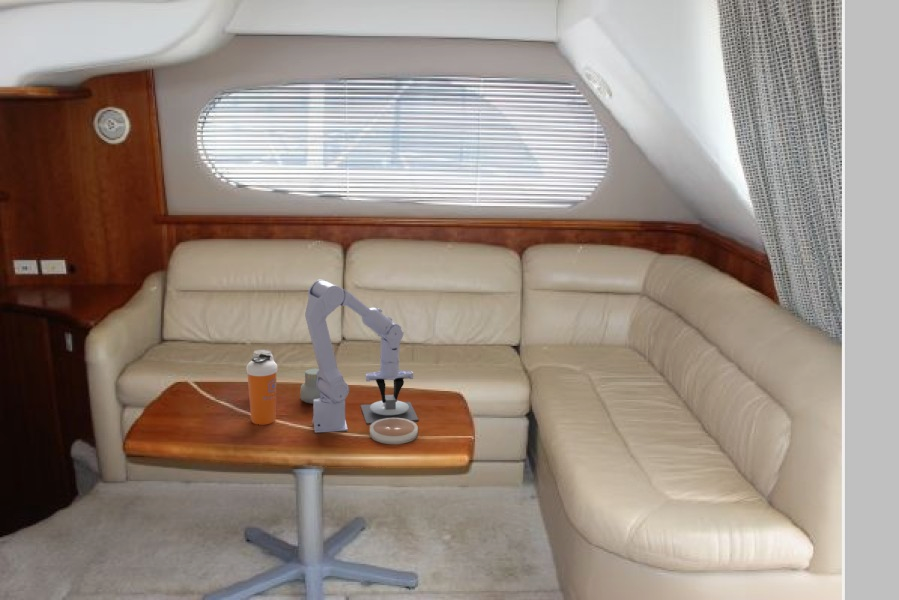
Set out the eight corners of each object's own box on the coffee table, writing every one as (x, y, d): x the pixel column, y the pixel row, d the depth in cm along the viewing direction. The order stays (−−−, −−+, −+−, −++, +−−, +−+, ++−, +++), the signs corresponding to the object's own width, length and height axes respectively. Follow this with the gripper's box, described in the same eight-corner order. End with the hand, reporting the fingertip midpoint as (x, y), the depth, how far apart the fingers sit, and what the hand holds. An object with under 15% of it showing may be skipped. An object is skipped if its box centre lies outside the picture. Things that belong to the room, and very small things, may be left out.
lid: (372, 416, 218) (372, 405, 218) (367, 403, 230) (367, 392, 229) (412, 413, 221) (412, 402, 221) (405, 400, 233) (405, 390, 232)
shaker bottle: (243, 424, 215) (240, 360, 210) (255, 412, 223) (253, 351, 218) (272, 427, 214) (270, 363, 209) (283, 415, 222) (281, 353, 217)
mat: (366, 424, 218) (366, 422, 218) (360, 406, 231) (360, 404, 231) (418, 420, 222) (418, 419, 222) (410, 403, 235) (410, 401, 235)
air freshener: (326, 407, 230) (325, 377, 227) (299, 407, 229) (299, 377, 226) (329, 394, 240) (328, 365, 238) (303, 394, 239) (303, 365, 237)
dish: (373, 446, 204) (373, 439, 204) (366, 425, 217) (366, 419, 217) (422, 442, 207) (422, 435, 207) (412, 422, 220) (412, 416, 220)
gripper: (367, 365, 217) (367, 407, 220) (415, 362, 220) (414, 404, 224) (364, 357, 223) (364, 398, 227) (411, 355, 227) (410, 396, 230)
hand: (389, 401), depth 226 cm, fingers closed on lid, 3 cm apart
